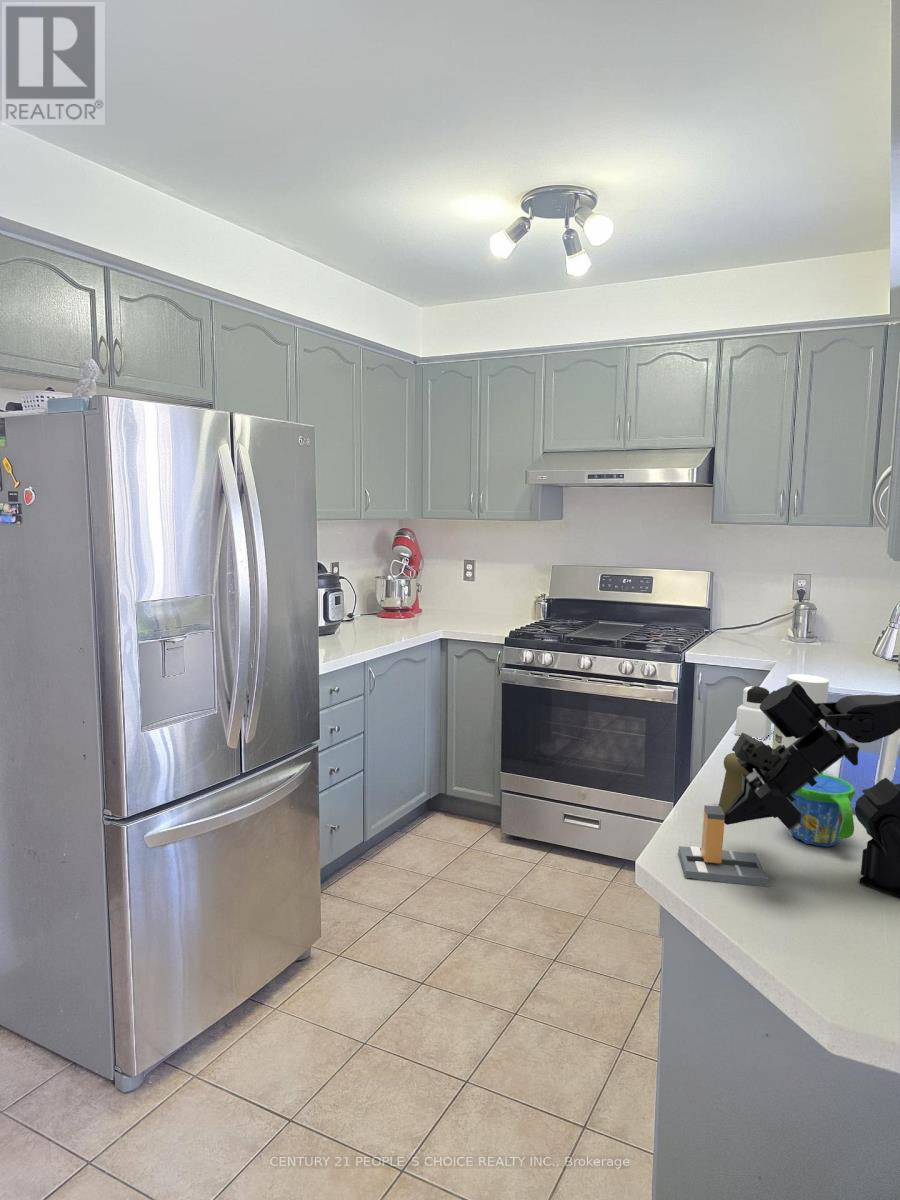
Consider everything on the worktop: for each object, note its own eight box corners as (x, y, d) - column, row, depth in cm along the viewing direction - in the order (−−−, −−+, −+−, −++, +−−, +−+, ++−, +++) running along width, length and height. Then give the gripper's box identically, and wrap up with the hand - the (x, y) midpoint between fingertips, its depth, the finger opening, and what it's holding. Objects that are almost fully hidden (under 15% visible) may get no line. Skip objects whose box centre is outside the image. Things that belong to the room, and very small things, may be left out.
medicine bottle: (770, 733, 202) (774, 687, 200) (764, 740, 196) (768, 692, 194) (741, 728, 206) (744, 683, 204) (734, 735, 200) (738, 688, 198)
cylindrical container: (822, 807, 153) (834, 679, 150) (809, 817, 148) (821, 684, 145) (784, 797, 158) (795, 672, 155) (770, 806, 153) (781, 677, 149)
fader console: (755, 860, 129) (755, 852, 129) (768, 886, 120) (768, 878, 120) (678, 853, 131) (678, 845, 131) (685, 878, 122) (686, 870, 122)
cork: (724, 803, 154) (729, 747, 152) (756, 811, 150) (761, 754, 148) (712, 812, 149) (716, 754, 148) (745, 820, 145) (750, 762, 144)
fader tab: (716, 861, 127) (721, 806, 126) (720, 871, 124) (724, 815, 123) (700, 860, 128) (704, 805, 126) (703, 869, 124) (708, 813, 123)
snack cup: (871, 858, 131) (877, 799, 130) (809, 859, 130) (815, 799, 129) (819, 820, 146) (824, 766, 145) (764, 821, 145) (768, 766, 144)
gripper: (756, 704, 131) (681, 763, 134) (784, 737, 112) (697, 805, 116) (802, 755, 131) (726, 813, 134) (838, 796, 112) (749, 863, 115)
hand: (723, 821), depth 125 cm, fingers closed, pressing on fader tab
